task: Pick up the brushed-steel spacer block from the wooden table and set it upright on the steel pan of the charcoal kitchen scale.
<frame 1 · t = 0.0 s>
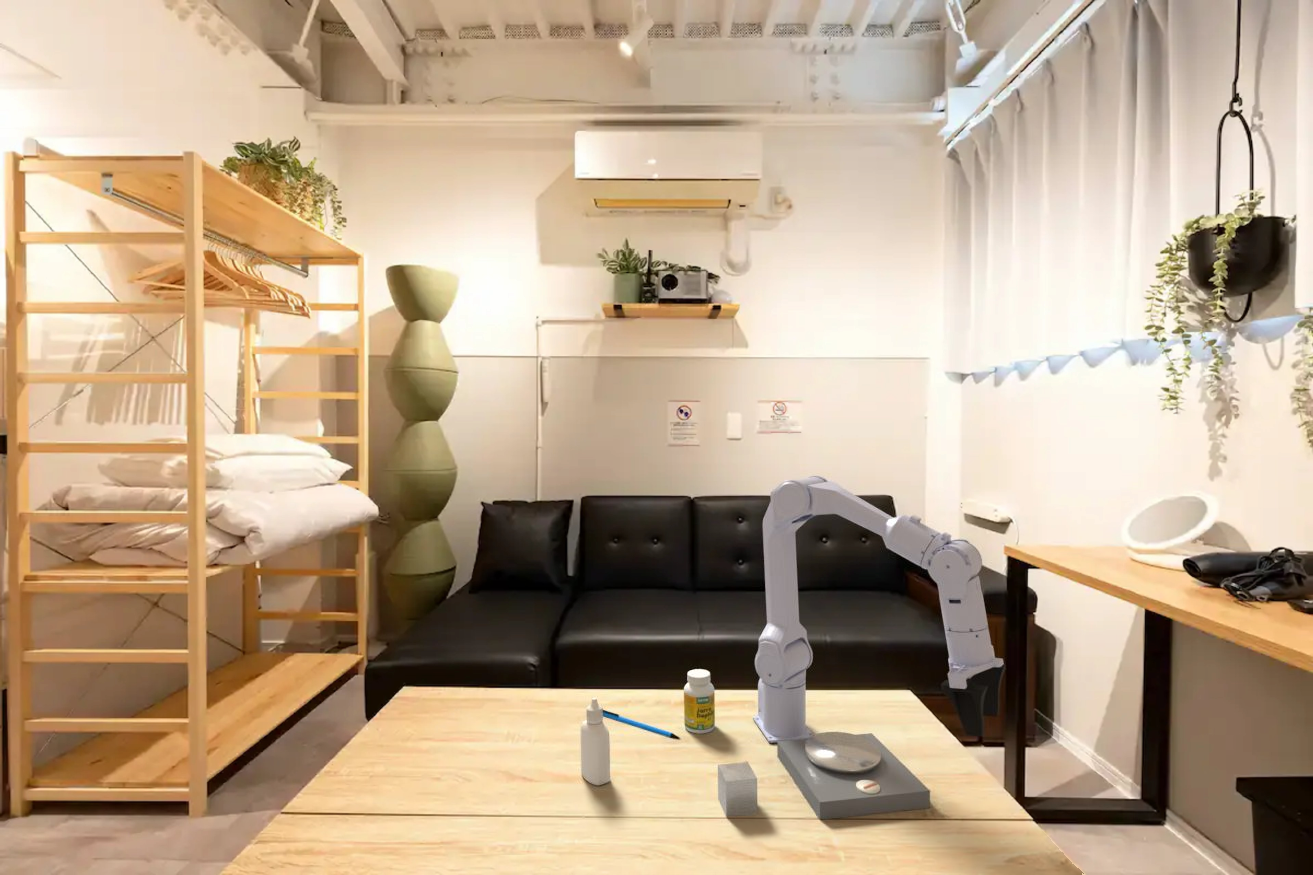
hand: (982, 724, 94), 11 cm above the table, tool pointing down, fingers open, 7 cm apart
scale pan: (842, 751, 102), point 3 cm above the table, slide at -0.2 cm
eye dropper bottle: (595, 778, 102), on the table
steel spacer: (737, 806, 94), on the table
supplement bottle: (699, 728, 117), on the table
scale base: (846, 778, 100), on the table
pen: (634, 727, 119), on the table
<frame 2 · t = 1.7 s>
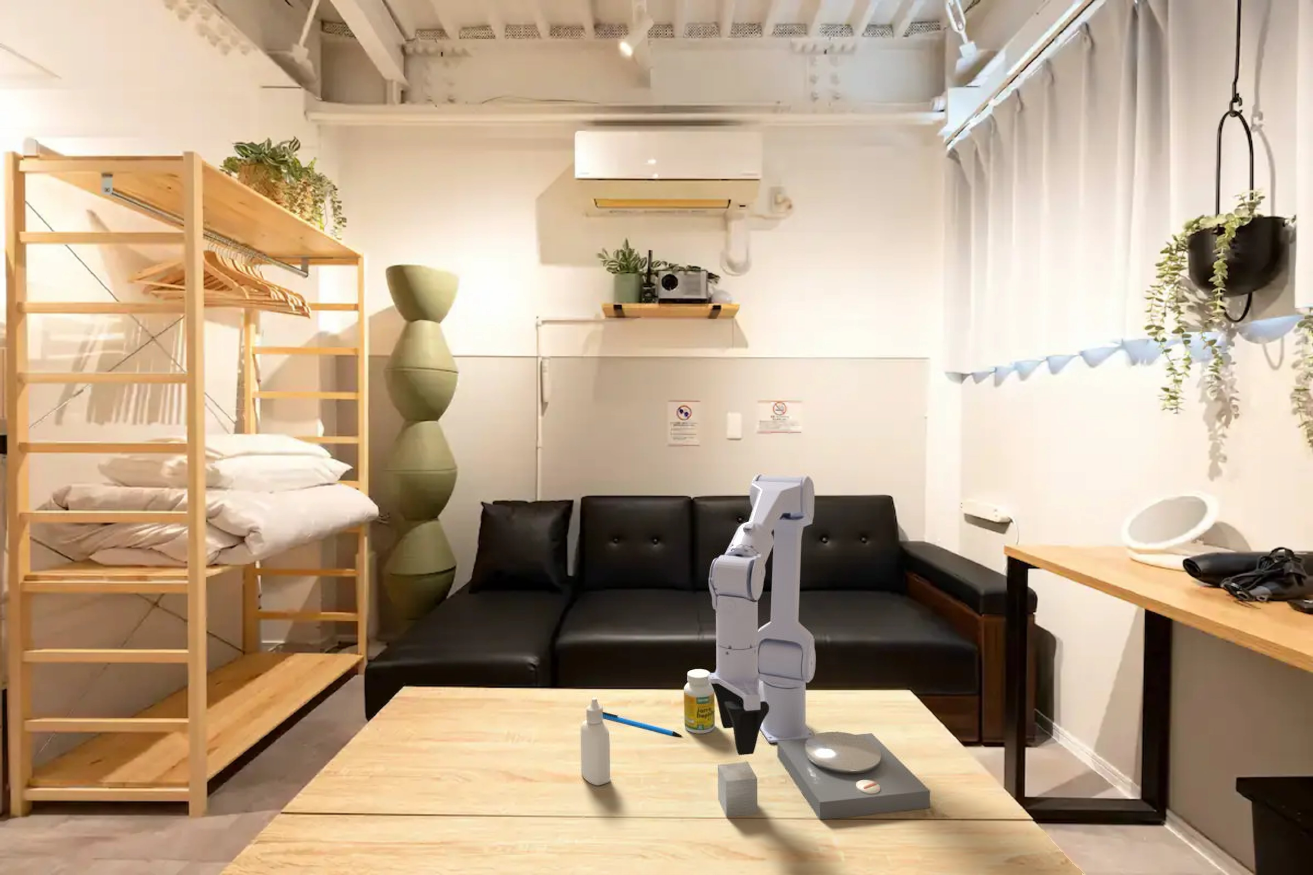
hand: (737, 739, 93), 9 cm above the table, tool pointing down, fingers open, 7 cm apart
nothing on the table moved.
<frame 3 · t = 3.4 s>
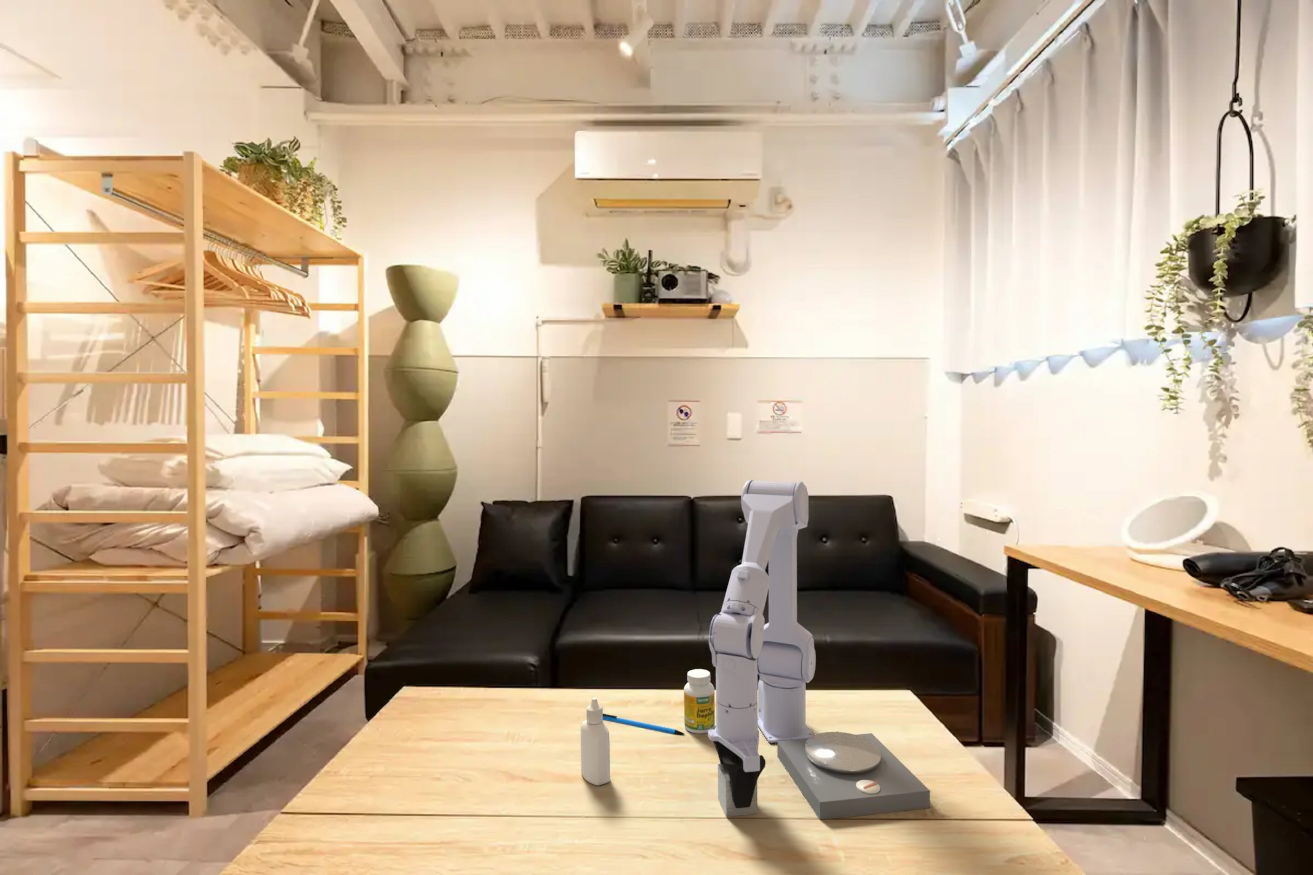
hand: (737, 795, 94), 1 cm above the table, tool pointing down, fingers closed on steel spacer, 4 cm apart
steel spacer: (737, 805, 94), on the table, touching gripper
everything else where it was.
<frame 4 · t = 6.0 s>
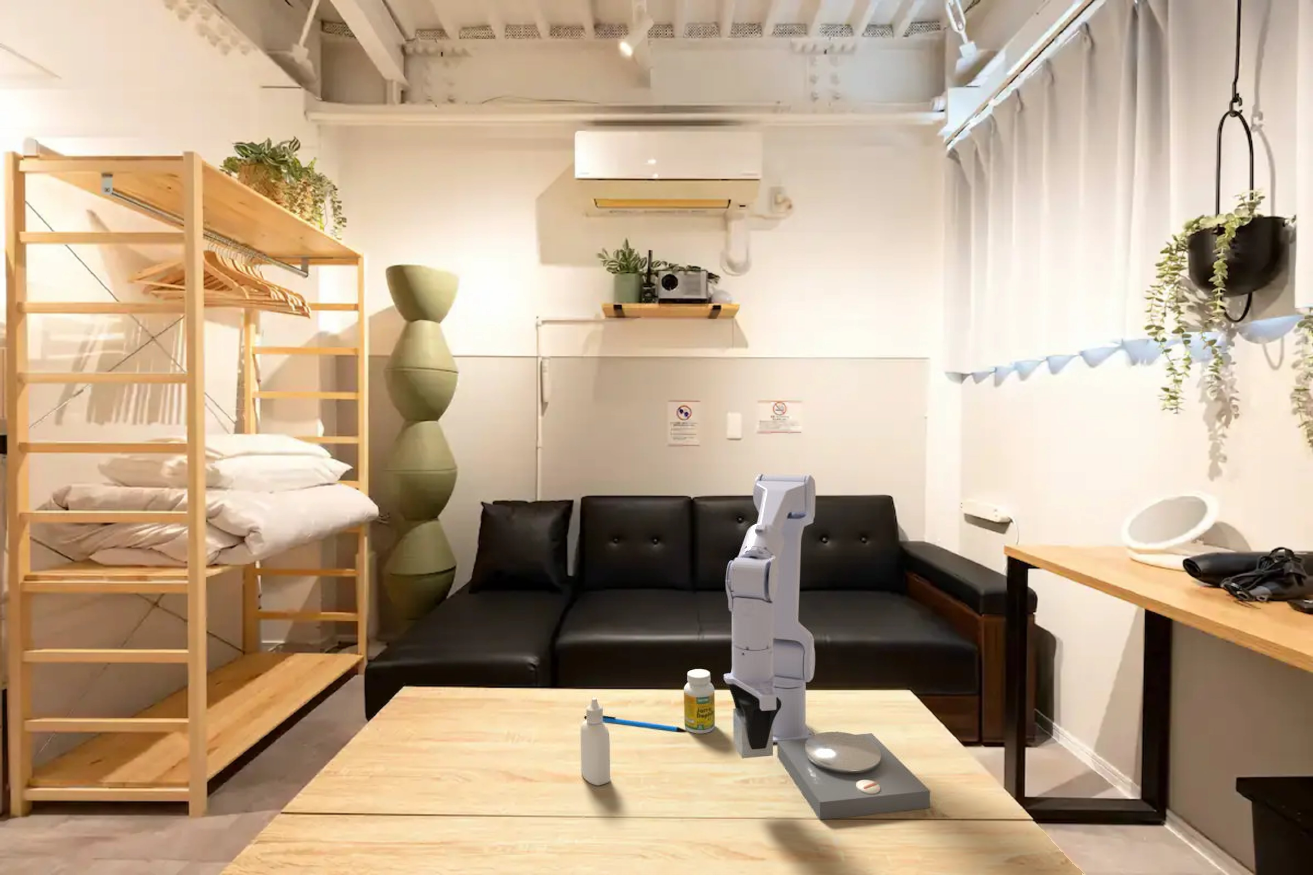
hand: (752, 738, 95), 9 cm above the table, tool pointing down, fingers closed on steel spacer, 4 cm apart
steel spacer: (752, 748, 95), point 7 cm above the table, touching gripper
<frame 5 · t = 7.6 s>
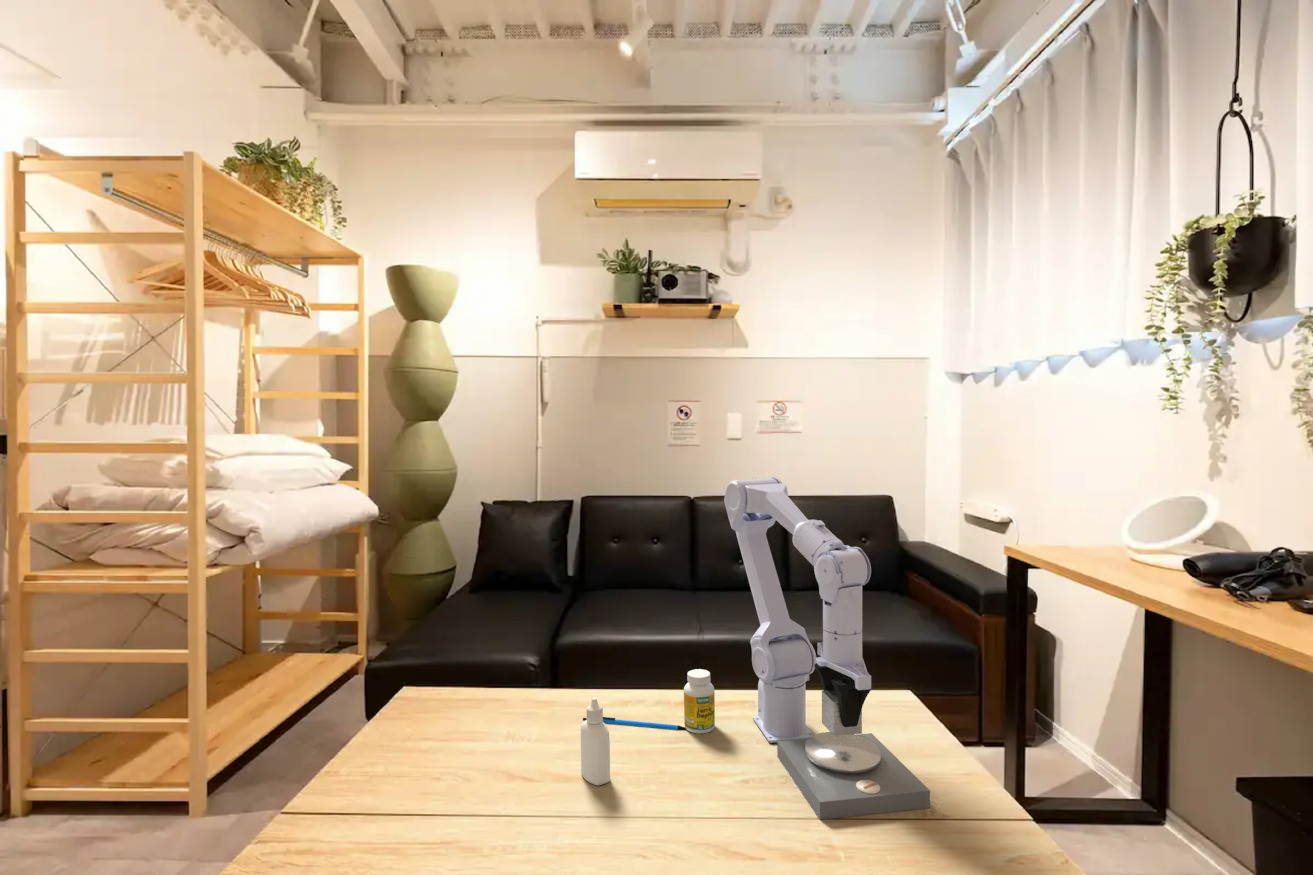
hand: (842, 718, 102), 8 cm above the table, tool pointing down, fingers closed on steel spacer, 4 cm apart
steel spacer: (841, 727, 102), point 7 cm above the table, touching gripper
when the fingers open (6 cm above the table, at t = 8.8 s): steel spacer drops 1 cm, resting on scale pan.
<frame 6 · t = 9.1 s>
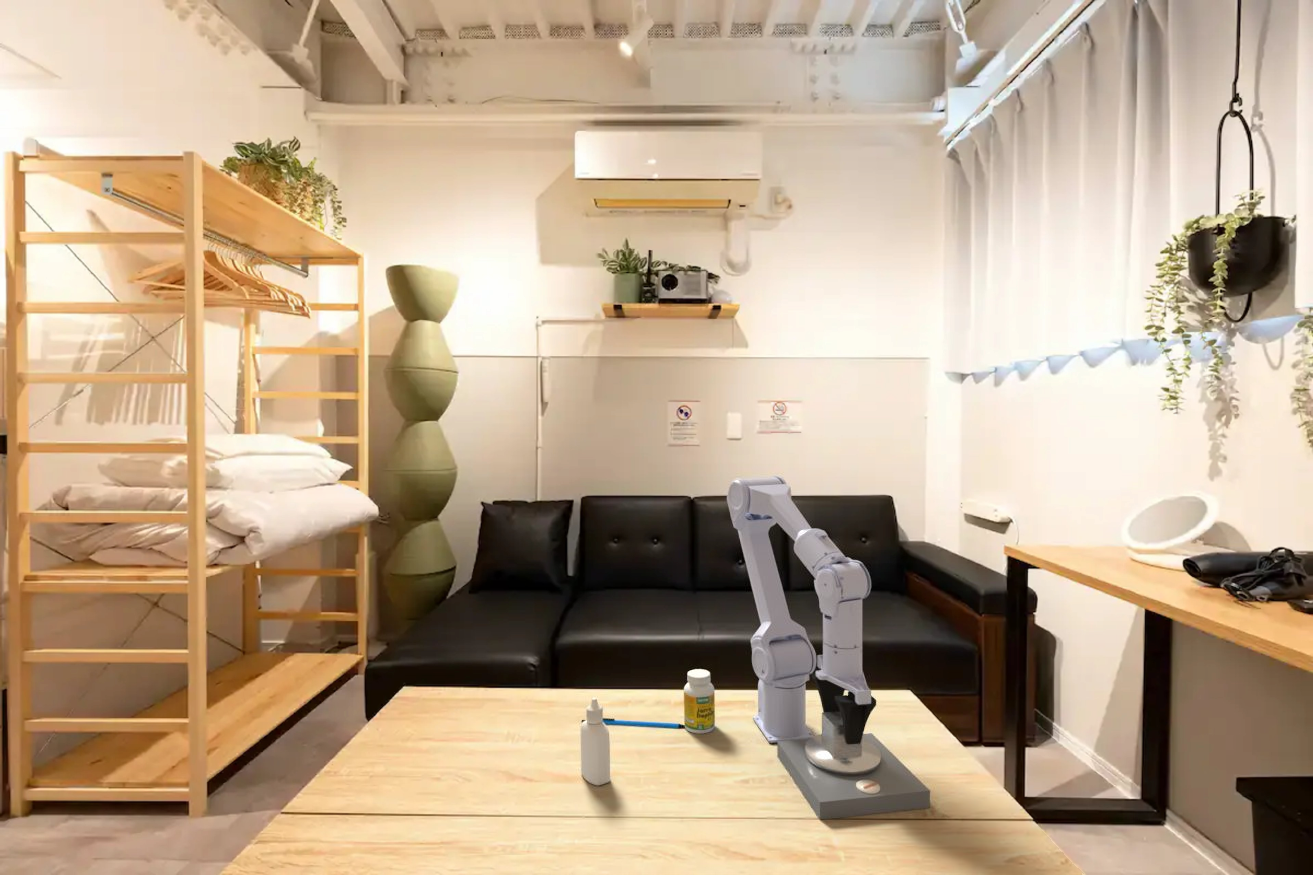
hand: (842, 731, 102), 6 cm above the table, tool pointing down, fingers open, 7 cm apart
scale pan: (842, 752, 102), point 3 cm above the table, slide at -0.4 cm, touching steel spacer
steel spacer: (841, 750, 102), point 4 cm above the table, touching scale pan
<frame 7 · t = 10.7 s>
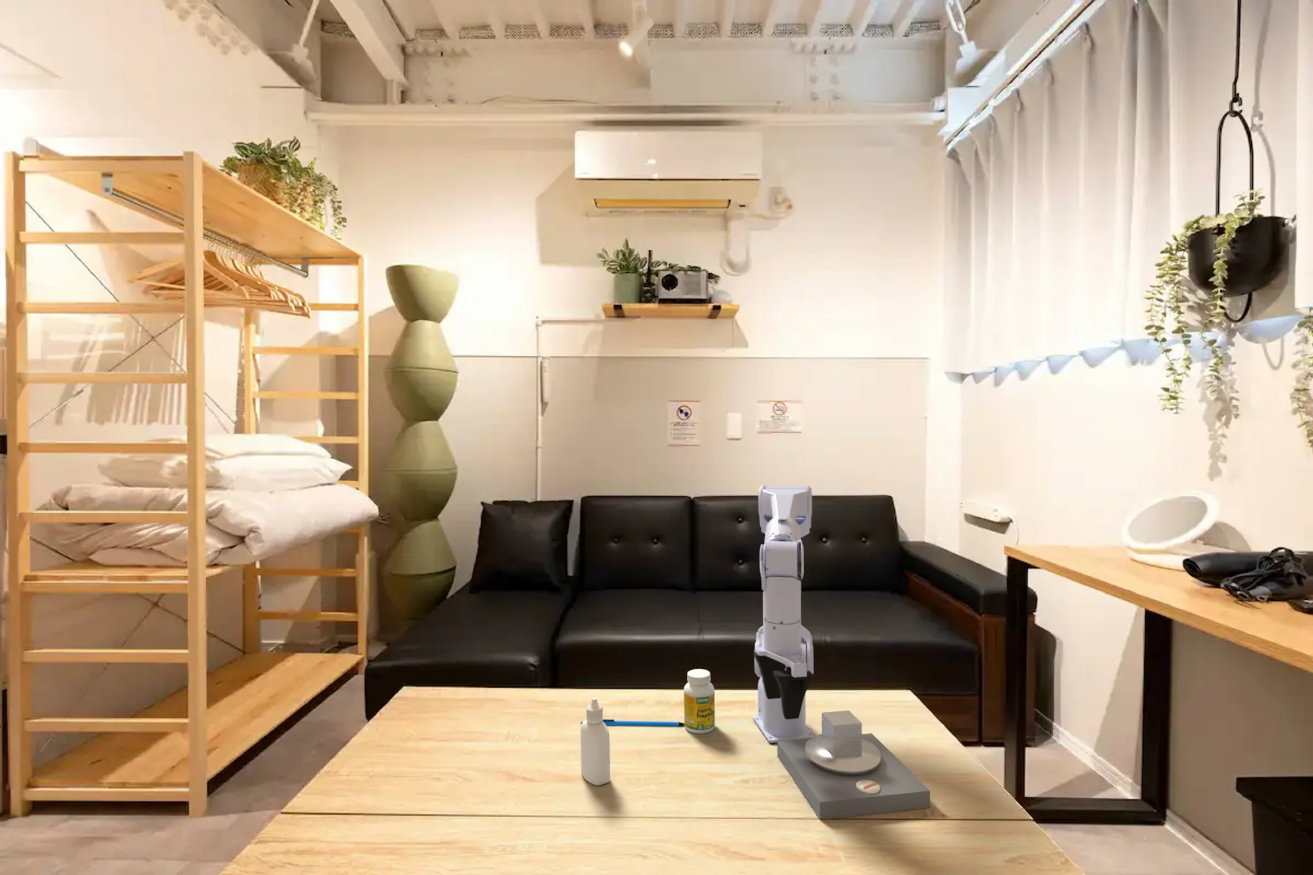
hand: (782, 707, 103), 9 cm above the table, tool pointing down, fingers open, 7 cm apart
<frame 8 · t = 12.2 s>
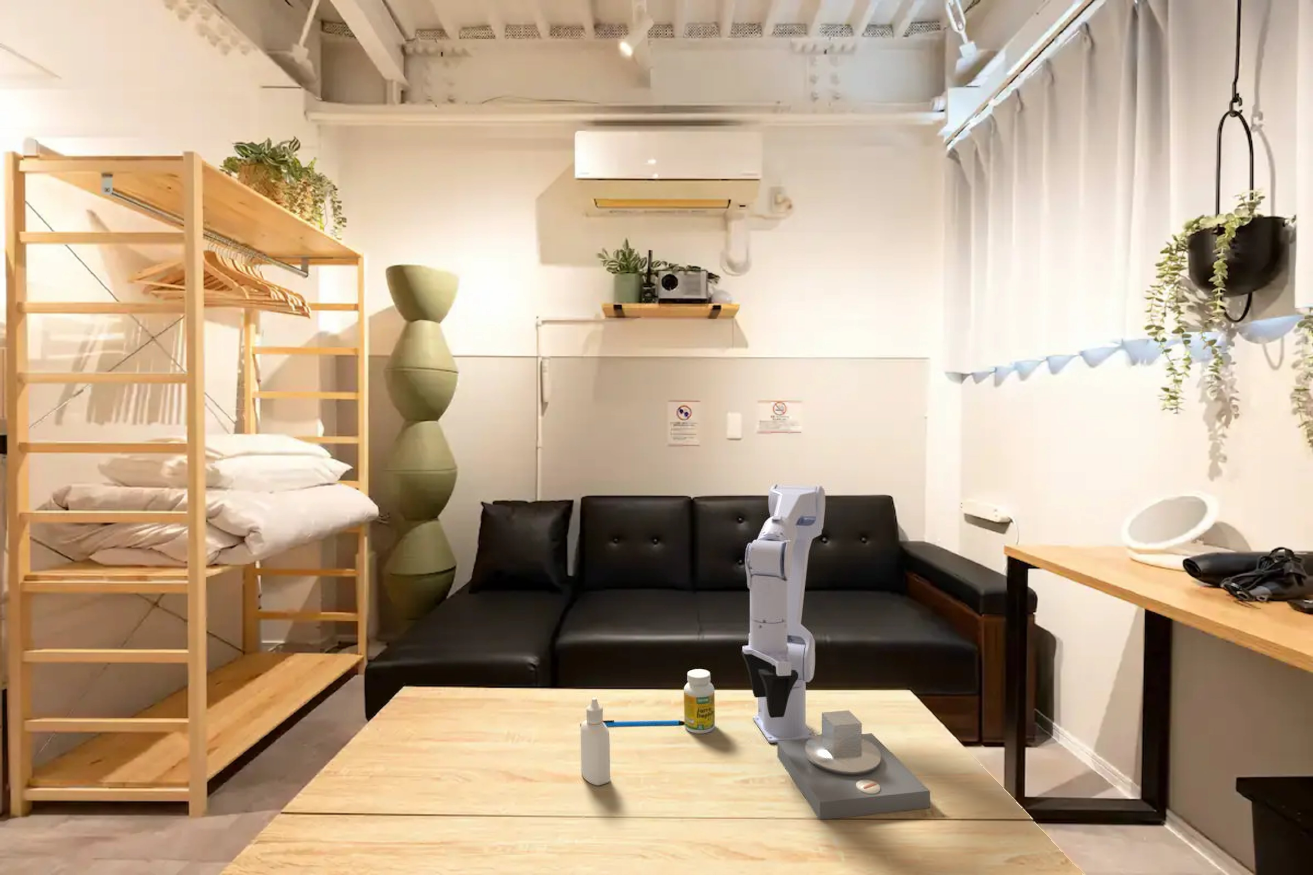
hand: (768, 705, 104), 9 cm above the table, tool pointing down, fingers open, 7 cm apart
at the end: steel spacer inside the target area on the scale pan (0.2 cm from its centre), point 3.9 cm above the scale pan's base; steel spacer tilted 0°; the gripper is holding nothing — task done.
